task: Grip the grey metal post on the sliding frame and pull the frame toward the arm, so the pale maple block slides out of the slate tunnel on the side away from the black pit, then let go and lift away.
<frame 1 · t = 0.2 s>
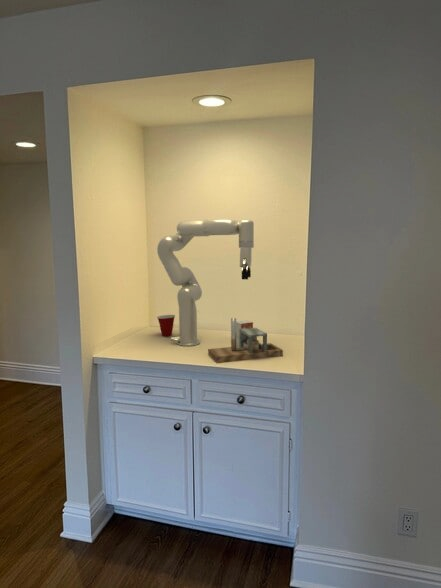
hand: (246, 278, 220), 37 cm above the worktop, tool pointing down, fingers open, 9 cm apart
maple block: (252, 348, 212), point 3 cm above the worktop, touching brown wooden tray
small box: (243, 345, 230), on the worktop
sliding frame: (245, 333, 210), point 11 cm above the worktop, slide at 0.0 cm
brown wooden tray: (252, 354, 213), on the worktop
plastic cup: (166, 335, 254), on the worktop
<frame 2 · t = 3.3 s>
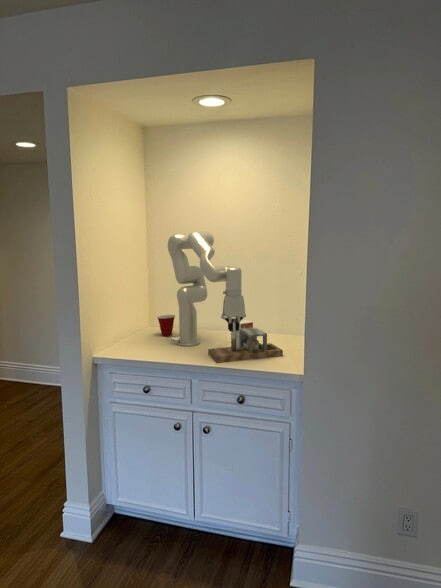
hand: (233, 330, 208), 13 cm above the worktop, tool pointing down, fingers closed on sliding frame, 2 cm apart
sliding frame: (245, 333, 210), point 11 cm above the worktop, slide at 0.0 cm, touching gripper
everything else where it was.
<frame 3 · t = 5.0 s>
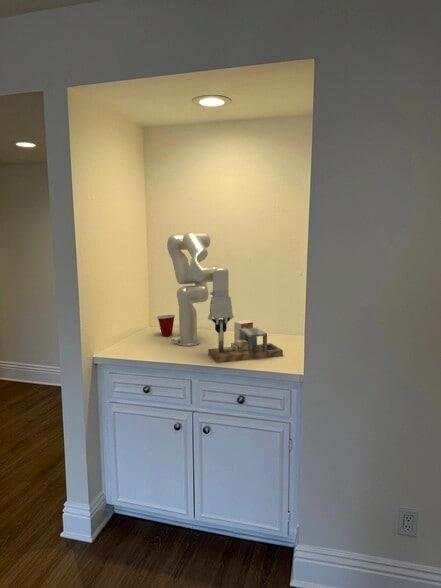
hand: (220, 331, 206), 13 cm above the worktop, tool pointing down, fingers closed on sliding frame, 2 cm apart
maple block: (241, 349, 210), point 3 cm above the worktop, touching sliding frame
sliding frame: (233, 334, 208), point 11 cm above the worktop, slide at -6.5 cm, touching gripper, maple block
everything else where it was.
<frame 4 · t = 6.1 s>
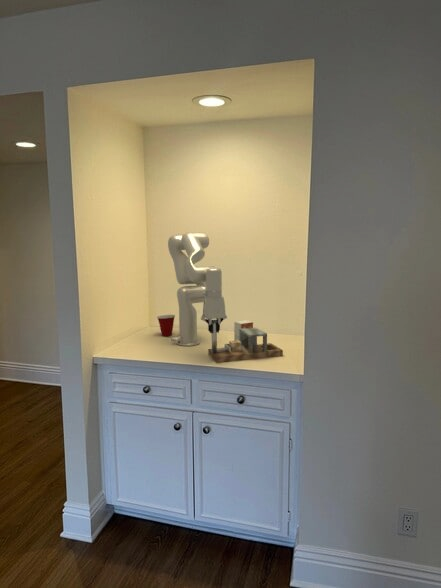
hand: (214, 331, 205), 13 cm above the worktop, tool pointing down, fingers closed on sliding frame, 2 cm apart
maple block: (235, 350, 209), point 3 cm above the worktop, touching sliding frame, brown wooden tray
sliding frame: (226, 335, 207), point 11 cm above the worktop, slide at -9.9 cm, touching gripper, maple block
everything else where it was.
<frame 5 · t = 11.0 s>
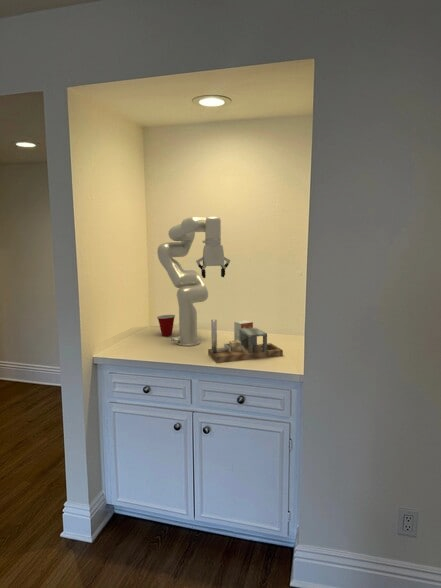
hand: (213, 277, 211), 38 cm above the worktop, tool pointing down, fingers open, 9 cm apart
sliding frame: (226, 335, 207), point 11 cm above the worktop, slide at -10.0 cm, touching maple block
everything else where it was.
at the end: maple block 1.1 cm from the target spot on the brown wooden tray, point 3.0 cm above the brown wooden tray's base; maple block tilted 0°; sliding frame slide at -10.0 cm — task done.
